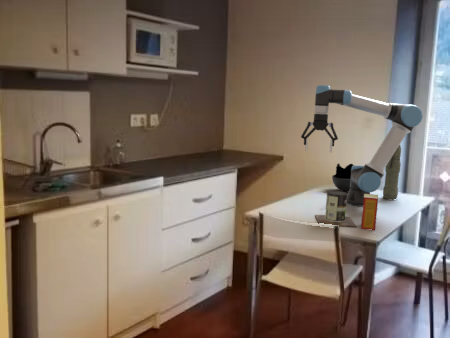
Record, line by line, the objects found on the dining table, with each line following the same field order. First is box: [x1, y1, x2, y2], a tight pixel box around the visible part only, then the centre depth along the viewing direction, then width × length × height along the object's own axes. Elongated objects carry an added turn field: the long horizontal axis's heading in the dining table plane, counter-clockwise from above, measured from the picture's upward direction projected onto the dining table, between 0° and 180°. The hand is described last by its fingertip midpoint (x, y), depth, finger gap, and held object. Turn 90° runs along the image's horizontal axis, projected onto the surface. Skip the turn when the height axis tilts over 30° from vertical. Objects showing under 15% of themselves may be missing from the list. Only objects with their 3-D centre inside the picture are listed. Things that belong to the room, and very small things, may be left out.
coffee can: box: [324, 190, 348, 222], centre depth 243 cm, size 10×10×14 cm
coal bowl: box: [331, 163, 354, 193], centre depth 322 cm, size 20×20×19 cm
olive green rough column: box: [382, 144, 402, 200], centre depth 305 cm, size 9×12×35 cm
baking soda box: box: [360, 193, 379, 231], centre depth 235 cm, size 10×6×16 cm
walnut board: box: [314, 214, 358, 228], centre depth 244 cm, size 18×18×1 cm
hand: (318, 151), depth 270 cm, fingers open, 13 cm apart
